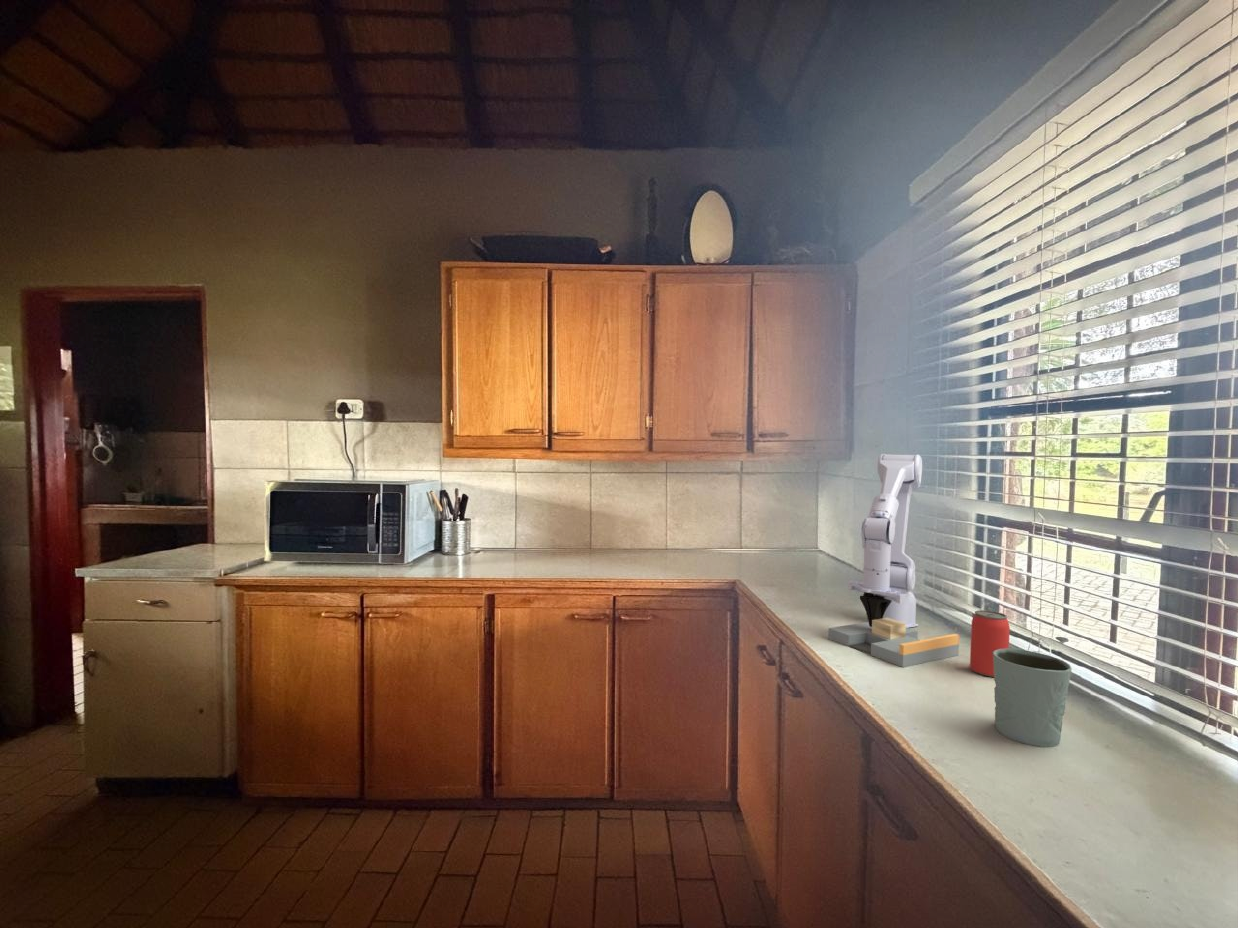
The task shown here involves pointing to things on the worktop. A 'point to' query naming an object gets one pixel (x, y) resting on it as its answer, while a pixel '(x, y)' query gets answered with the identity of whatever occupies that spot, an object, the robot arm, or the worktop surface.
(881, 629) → the birch block
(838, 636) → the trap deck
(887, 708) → the worktop surface
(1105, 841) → the worktop surface
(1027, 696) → the grey green oval vase
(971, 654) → the beer can
